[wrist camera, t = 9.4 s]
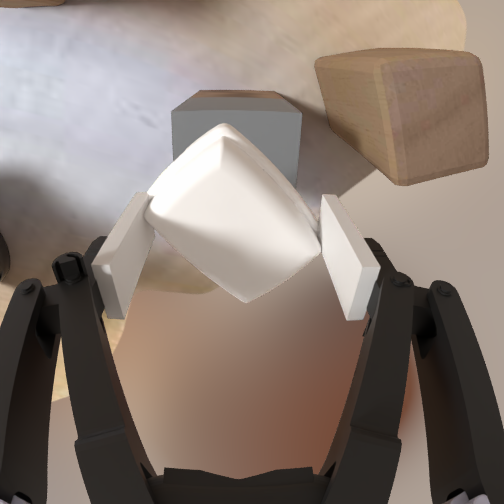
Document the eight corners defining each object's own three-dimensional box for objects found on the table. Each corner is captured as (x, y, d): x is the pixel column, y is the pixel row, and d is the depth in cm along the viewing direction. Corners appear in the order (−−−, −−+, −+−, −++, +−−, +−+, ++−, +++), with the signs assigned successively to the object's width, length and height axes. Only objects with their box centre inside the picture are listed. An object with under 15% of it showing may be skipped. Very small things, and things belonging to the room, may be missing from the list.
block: (397, 118, 37) (492, 169, 21) (329, 132, 39) (397, 193, 22) (383, 47, 32) (484, 53, 15) (310, 59, 33) (375, 59, 17)
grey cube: (191, 183, 33) (177, 225, 25) (189, 97, 28) (171, 111, 20) (278, 184, 33) (291, 226, 26) (284, 99, 28) (302, 113, 21)
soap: (330, 230, 19) (343, 258, 16) (243, 292, 21) (244, 324, 18) (225, 112, 15) (222, 122, 12) (135, 198, 17) (120, 223, 15)
